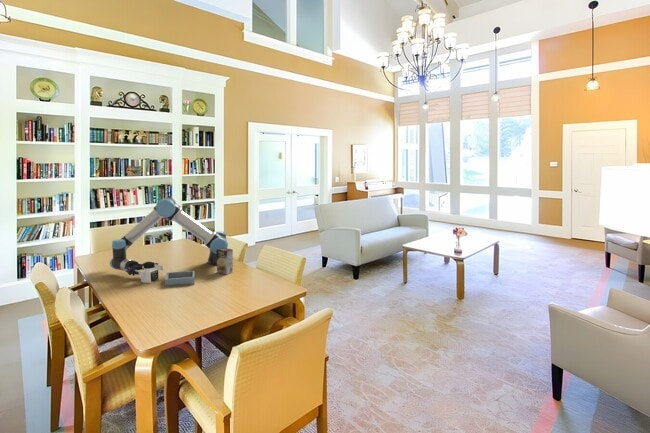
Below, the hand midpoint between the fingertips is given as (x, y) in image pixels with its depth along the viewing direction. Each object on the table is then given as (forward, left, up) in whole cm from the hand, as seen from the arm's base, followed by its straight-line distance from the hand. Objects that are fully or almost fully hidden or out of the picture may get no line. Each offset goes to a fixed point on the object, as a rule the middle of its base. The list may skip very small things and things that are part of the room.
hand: (153, 270), depth 218 cm
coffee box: (-43, -8, -7) cm, 44 cm away
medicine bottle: (+2, -2, -7) cm, 8 cm away
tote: (-16, +5, -7) cm, 18 cm away
